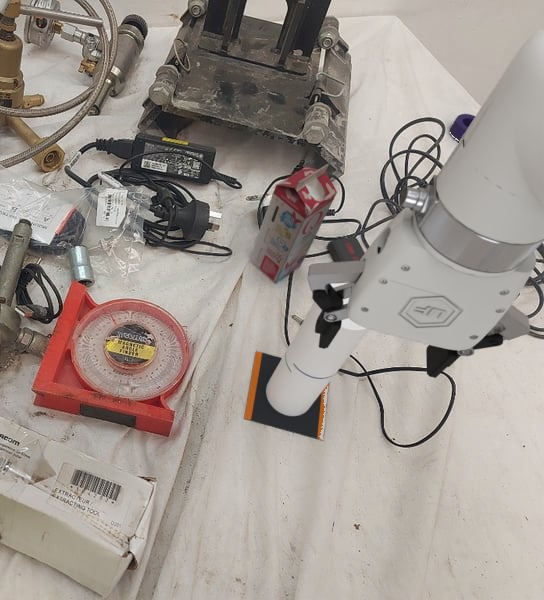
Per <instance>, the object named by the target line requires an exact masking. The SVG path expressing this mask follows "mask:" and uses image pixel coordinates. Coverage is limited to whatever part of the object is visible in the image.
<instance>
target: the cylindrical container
mask: <svg viewBox="0 0 544 600" xmlns="http://www.w3.org/2000/svg"><path fill="white" fill-rule="evenodd" d="M344 284H347V283H332V284H331V286H332V287H333V288H334V287H338V286H341V285H344ZM348 301H349V298H346V299H343V305H344V304H347V303H348ZM321 311H322V310H321V309H320V307H319V306H318V305H317V304H316V303H315V301H313V303H312V305H311V306H310V308H309V310H308V312H307V314H306V315H305V317H304V319H303V320H302V323H301V324H300V326H299V328H298V329H297V331H296V333H295V335H294V336H293V338H292V340H291V342H290V343H289V345H288V347H287V349H286V350H285V352H284V354H283V355H282V357H281V358H282V359H281V361H280V363H279V364H278V366H277V368H276V370H275V371H274V373H273V375H272V377H271V378H270V380H269V382H268V384H267V387H266V395H267V399H268V401H269V403H270V404H271V405H272V407H273V408H274V409H275V410H277V411H278V412H280V413H282V414H284V415H288V416H298V415H301V414H303V413H305V412H306V411H307V410H308V409H309V408H310V407H311V405H312V404H313V403H314V401H315V400H316V399H317V397H318V396H319V395H320V393H321V392H322V391H323V390H324V388H325V387H326V386H327V384H328V383H329V384H330V382H331V381H332V379H333V378H334V377H335V375H336V374H337V373H338V371H339V370H340V369H341V367H342V366H343V365H344V364H345V363H346V361H347V360H348V358H349V357H350V356H351V355H352V353H353V352H354V351H355V349H356V348H357V347H358V345H360V343H361V342H362V340H363V339H364V338H365V336H366V335H367V334H368V332H370V329H367V328H364V327H362V326H359V325H357V324H356V323H354V322H353V321H351V320H350V319H349V318H347V319H343V320H342V324H341V328H340V330H339V331H338V333H337V334H336V336H335V337H334V339H333V340H332V342H331V344H330V345H329V347H328V348H325V349H323V348H319V339H320V334H318V333H315V325H316V321H317V318H318V316H319V315H320V313H321Z"/></svg>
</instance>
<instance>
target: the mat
mask: <svg viewBox="0 0 544 600" xmlns="http://www.w3.org/2000/svg"><path fill="white" fill-rule="evenodd" d="M281 359H282V357H280V356H276V355H274V354H273V355H272V354H269V353H265V352H261V351H258V350H256V351H255V356H254V361H253V367H252V372H251V377H250V383H249V390H248V395H247V401H246V405H245V410H244V411H245V412H244V417H243V419H244V420H247V421H251V422H254V423H258V424H261V425H265V426H269V427H271V428H277V429H280V430H283V431H287V432H290V433H294V434H298V435H302V436H305V437H309V438H313V439H315V440H319V439H320V437H319V436H320V435H321V433H320V432H321V430H322V429H323V428H321V427H322V426H323V425H322V423H323V418H324V415H323V414H324V412H325V411H324V408H325V406H324V404H323V403H324V399H323V398H324V396H325V395H323V394H325V392H324V391H325V389H327V386H329V387H330V382H329V383H328V384H327V386H326V387H325V388H324V390H323V391H322V392H321V393H320V395H319V396H318V397H317V399H316V400H315V401H314V403H313V404H312V405H311V407H310V408H309V409H308V410H307V411H306V412H305V413H303V414H301V415H298V416H288V415H284V414H282V413H280V412H278V411H277V410H275V409H274V408H273V407H272V405H271V404H270V403H269V401H268V399H267V395H266V387H267V384H268V382H269V380H270V378H271V377H272V375H273V373H274V371H275V370H276V368H277V366H278V364H279V363H280V361H281Z"/></svg>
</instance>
